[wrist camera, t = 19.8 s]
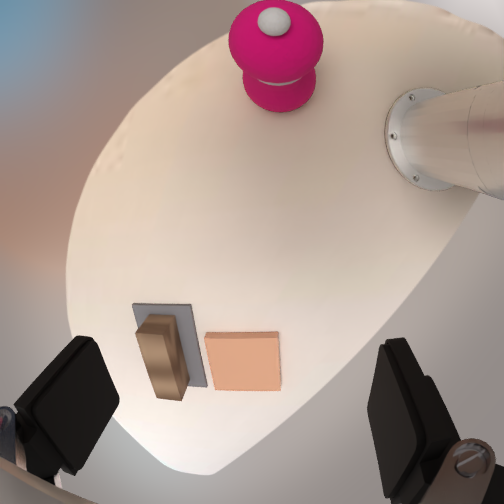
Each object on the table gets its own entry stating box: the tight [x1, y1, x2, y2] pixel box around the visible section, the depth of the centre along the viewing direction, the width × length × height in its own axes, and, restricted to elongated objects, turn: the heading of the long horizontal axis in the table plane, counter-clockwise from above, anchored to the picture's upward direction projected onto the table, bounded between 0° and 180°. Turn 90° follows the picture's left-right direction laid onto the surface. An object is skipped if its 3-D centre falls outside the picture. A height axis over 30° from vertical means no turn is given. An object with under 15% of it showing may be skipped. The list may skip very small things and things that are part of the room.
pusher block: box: [135, 314, 190, 401], centre depth 41 cm, size 12×4×5 cm, turn 4°
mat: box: [132, 303, 208, 387], centre depth 44 cm, size 9×15×1 cm, turn 4°
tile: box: [204, 332, 281, 391], centre depth 43 cm, size 2×10×10 cm
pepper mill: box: [229, 0, 323, 112], centre depth 22 cm, size 7×7×20 cm
